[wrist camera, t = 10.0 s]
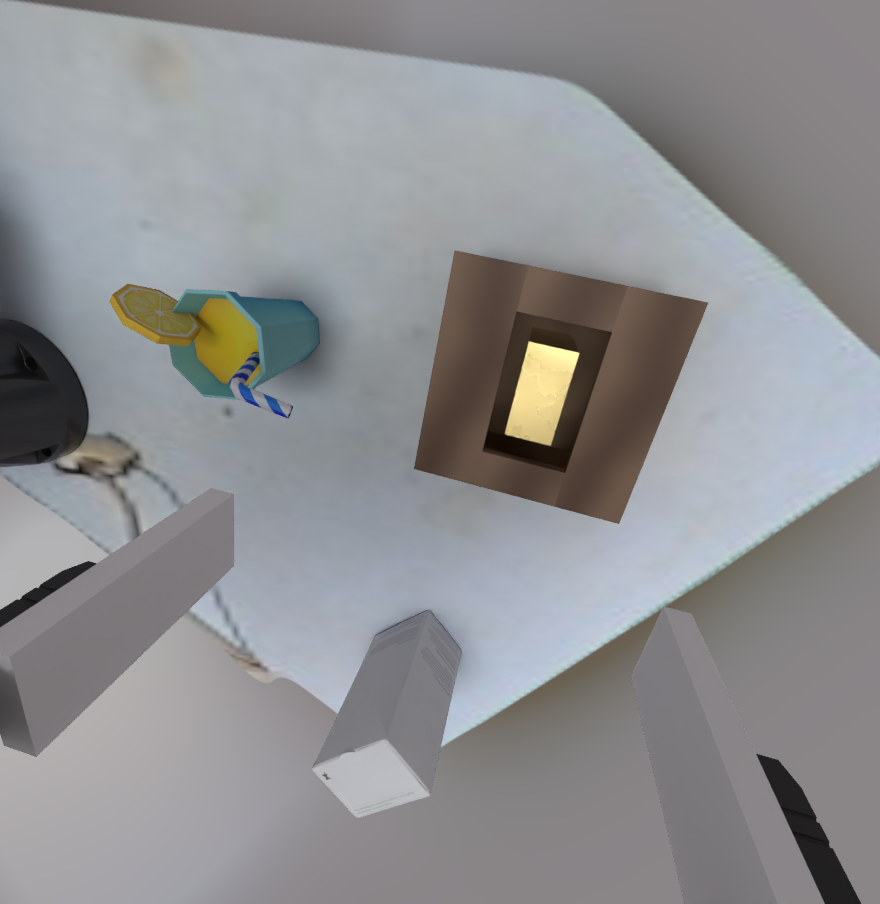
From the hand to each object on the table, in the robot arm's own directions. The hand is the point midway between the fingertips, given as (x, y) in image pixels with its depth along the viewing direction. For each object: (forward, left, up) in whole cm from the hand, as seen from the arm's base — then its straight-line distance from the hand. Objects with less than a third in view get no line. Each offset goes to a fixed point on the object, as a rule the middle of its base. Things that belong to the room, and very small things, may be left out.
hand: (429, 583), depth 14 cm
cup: (-18, 0, -27) cm, 33 cm away
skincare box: (-2, -30, -27) cm, 40 cm away
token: (+3, +2, -26) cm, 26 cm away
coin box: (+3, +2, -27) cm, 27 cm away
